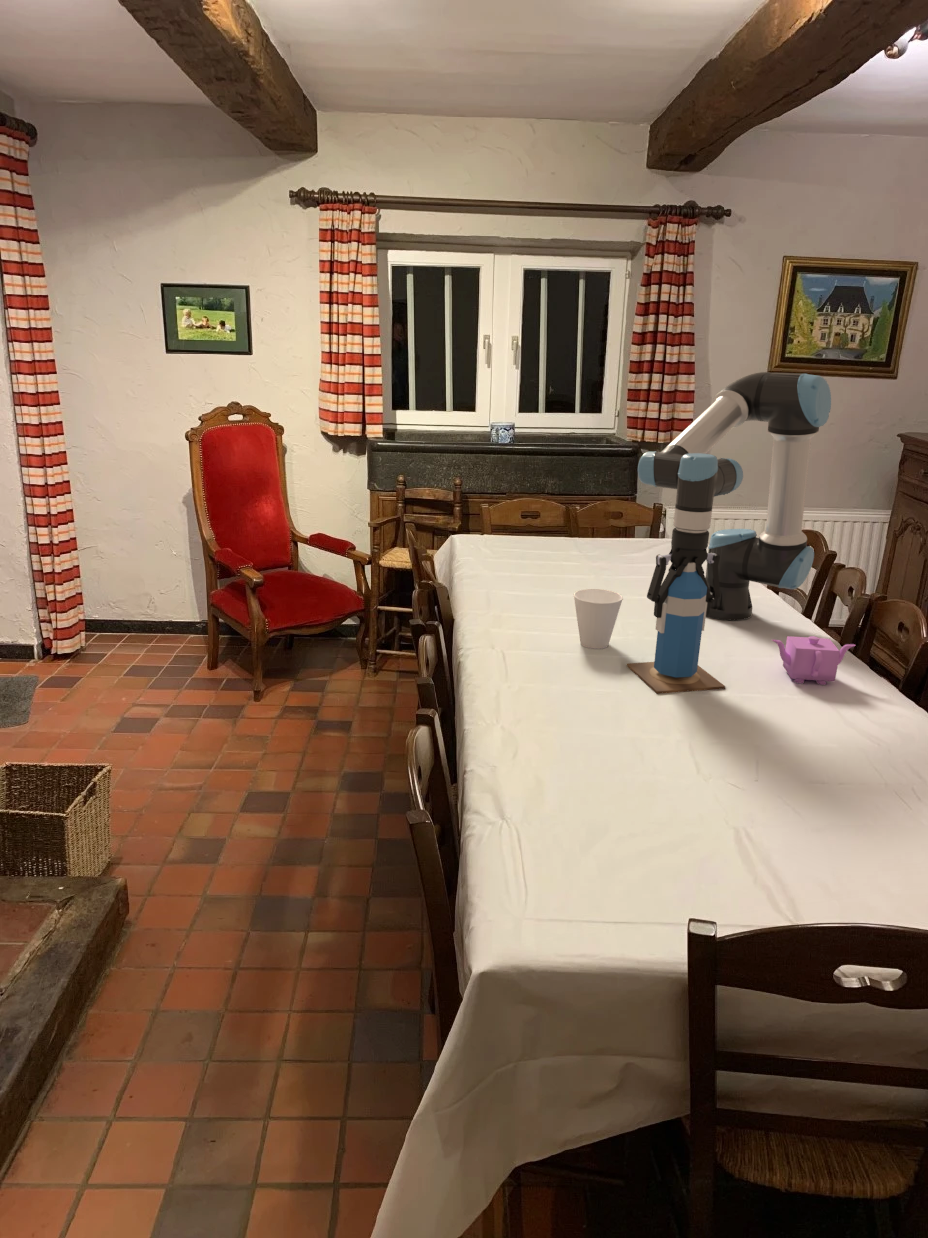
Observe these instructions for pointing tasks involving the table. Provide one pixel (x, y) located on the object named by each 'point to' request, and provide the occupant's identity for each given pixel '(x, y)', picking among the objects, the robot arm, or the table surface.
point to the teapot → (811, 658)
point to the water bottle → (682, 625)
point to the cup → (596, 616)
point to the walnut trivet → (674, 679)
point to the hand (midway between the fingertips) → (679, 629)
